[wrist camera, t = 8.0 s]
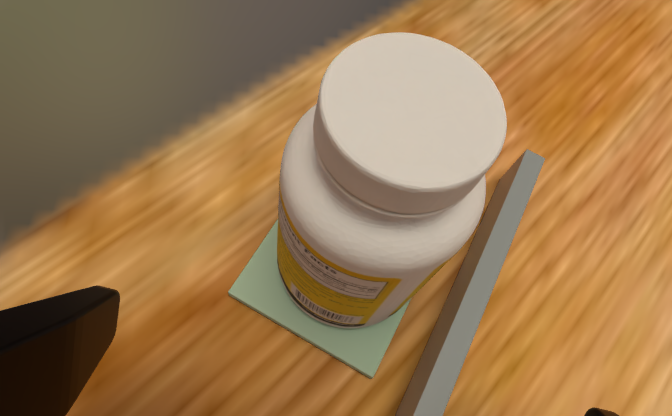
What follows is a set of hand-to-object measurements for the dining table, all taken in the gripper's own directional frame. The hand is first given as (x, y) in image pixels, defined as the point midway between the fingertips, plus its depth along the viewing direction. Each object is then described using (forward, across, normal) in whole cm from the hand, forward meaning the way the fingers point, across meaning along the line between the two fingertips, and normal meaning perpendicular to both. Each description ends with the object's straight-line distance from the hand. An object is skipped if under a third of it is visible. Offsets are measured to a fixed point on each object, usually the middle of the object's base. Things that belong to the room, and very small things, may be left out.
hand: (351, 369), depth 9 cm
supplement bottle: (+10, 0, +2) cm, 10 cm away
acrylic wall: (+10, -5, +2) cm, 11 cm away
